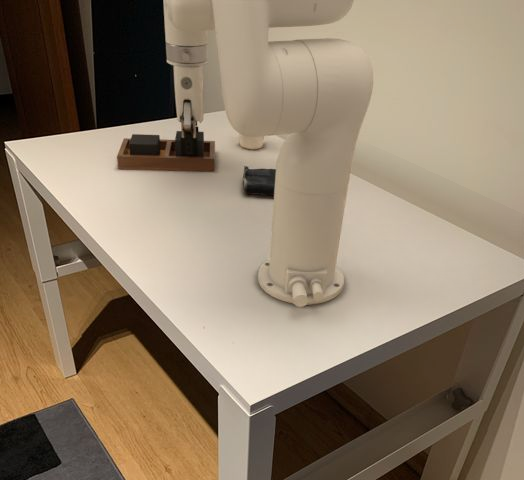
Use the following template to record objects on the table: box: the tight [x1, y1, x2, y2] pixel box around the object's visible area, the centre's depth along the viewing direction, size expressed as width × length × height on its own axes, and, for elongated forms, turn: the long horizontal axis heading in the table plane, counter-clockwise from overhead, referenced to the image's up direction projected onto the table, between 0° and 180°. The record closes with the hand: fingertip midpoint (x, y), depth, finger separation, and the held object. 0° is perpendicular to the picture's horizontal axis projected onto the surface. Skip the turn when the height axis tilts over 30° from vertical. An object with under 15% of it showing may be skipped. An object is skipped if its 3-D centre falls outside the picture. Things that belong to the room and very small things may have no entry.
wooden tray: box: [116, 137, 216, 172], centre depth 114 cm, size 10×19×3 cm, turn 93°
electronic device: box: [242, 165, 276, 196], centre depth 105 cm, size 9×6×15 cm
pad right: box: [174, 130, 205, 157], centre depth 112 cm, size 6×6×4 cm
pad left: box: [129, 133, 161, 156], centre depth 112 cm, size 6×6×4 cm
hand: (190, 150), depth 113 cm, fingers closed on pad right, 5 cm apart
